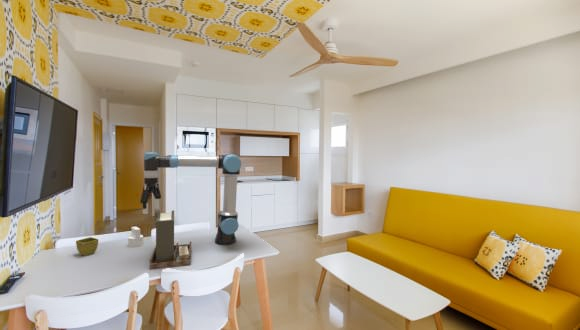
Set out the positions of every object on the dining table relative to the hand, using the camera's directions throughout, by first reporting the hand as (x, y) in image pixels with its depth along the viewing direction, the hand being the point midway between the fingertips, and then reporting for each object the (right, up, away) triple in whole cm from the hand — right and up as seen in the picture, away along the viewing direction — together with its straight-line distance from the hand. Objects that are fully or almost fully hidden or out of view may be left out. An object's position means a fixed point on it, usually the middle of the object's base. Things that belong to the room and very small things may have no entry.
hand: (151, 211), depth 167 cm
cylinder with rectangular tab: (-21, -27, +19) cm, 39 cm away
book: (+11, -29, -5) cm, 31 cm away
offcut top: (+21, -26, -2) cm, 33 cm away
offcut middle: (+21, -28, -2) cm, 35 cm away
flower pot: (-41, -27, +1) cm, 49 cm away
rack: (+15, -29, -3) cm, 33 cm away
